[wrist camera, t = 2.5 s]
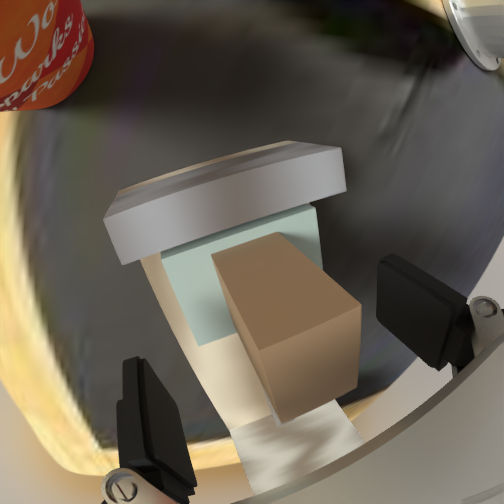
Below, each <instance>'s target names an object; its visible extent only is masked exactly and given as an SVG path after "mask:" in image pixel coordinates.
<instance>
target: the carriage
mask: <svg viewBox="0 0 504 504" xmlns="http://www.w3.org/2000/svg"><path fill="white" fill-rule="evenodd" d="M160 254H161V261H162V264H163V266H164V269H165V271H166V273H167V276H168V278H169V281H170V283H171V286H172V288H173V290H174V293H175V295H176V297H177V300H178V302H179V304H180V307H181V309H182V311H183V314H184V316H185V318H186V320H187V323H188V325H189V327H190V329H191V331H192V333H193V336H194V338H195V340H196V342H197V344H198V346H202V345H204V344H207V343H210V342H213V341H216V340H219V339H221V338H224V337H227V336H230V335H232V334H235V333H238V335H239V338H240V340H241V342H242V344H243V346H244V348H245V351H246V353H247V355H248V357H249V359H250V361H251V363H252V365H253V367H254V369H255V372H256V374H257V376H258V378H259V380H260V382H261V384H262V386H263V388H264V390H265V392H266V394H267V396H268V398H269V400H270V402H271V404H272V406H273V408H274V410H275V412H276V414H277V416H278V418H279V420H280V422H281V424H282V423H285V422H287V421H290V420H292V419H294V418H296V417H299V416H301V415H303V414H305V413H307V412H310V411H312V410H314V409H316V408H318V407H320V406H322V405H324V404H326V403H328V402H330V401H332V400H334V399H336V398H338V397H340V396H342V395H344V394H346V393H347V392H349V391H351V390H353V389H355V388H357V382H358V370H359V355H360V336H361V304H360V303H359V302H358V301H357V300H356V299H354V298H353V297H352V296H351V295H350V294H349V293H348V292H347V291H345V290H344V289H343V288H342V287H341V286H340V285H339V284H337V283H336V282H335V281H334V280H333V279H332V278H331V277H329V276H328V275H327V274H326V273H325V272H324V271H323V266H322V257H321V248H320V239H319V231H318V223H317V216H316V208H315V207H313V206H311V205H309V204H307V203H306V204H302V205H299V206H296V207H293V208H290V209H286V210H283V211H280V212H277V213H274V214H271V215H268V216H264V217H261V218H258V219H255V220H252V221H249V222H246V223H243V224H240V225H237V226H234V227H231V228H228V229H225V230H222V231H219V232H216V233H213V234H210V235H207V236H204V237H201V238H198V239H195V240H192V241H190V242H187V243H184V244H181V245H178V246H175V247H172V248H169V249H167V250H164V251H161V252H160Z"/></svg>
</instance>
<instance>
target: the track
mask: <svg viewBox="0 0 504 504" xmlns="http://www.w3.org/2000/svg"><path fill="white" fill-rule="evenodd" d="M345 191H346V182H345V174H344V166H343V158H342V151H341V148H339V147H333V146H326V145H320V144H312V143H305V142H296V141H283V142H279V143H274V144H270V145H266V146H262V147H257V148H253V149H249V150H246V151H242V152H238V153H234V154H230V155H227V156H223V157H220V158H216V159H213V160H209V161H206V162H202V163H199V164H196V165H192V166H189V167H186V168H183V169H180V170H177V171H173V172H170V173H167V174H164V175H161V176H158V177H156V178H153V179H150V180H147V181H144V182H141V183H138V184H136V185H133V186H130V187H128V188H125V189H122V190H120V191H119V192H118V194H117V195H116V197H115V199H114V200H113V202H112V204H111V206H110V207H109V209H108V211H107V213H106V214H105V216H104V218H103V220H104V223H105V225H106V228H107V231H108V233H109V235H110V238H111V240H112V243H113V245H114V248H115V250H116V252H117V255H118V257H119V259H120V261H121V264H122V265H125V264H128V263H130V262H133V261H136V260H139V259H140V261H141V263H142V265H143V268H144V270H145V272H146V275H147V277H148V279H149V282H150V284H151V286H152V288H153V290H154V293H155V295H156V297H157V299H158V301H159V303H160V306H161V308H162V310H163V312H164V314H165V316H166V318H167V320H168V322H169V324H170V326H171V328H172V330H173V332H174V334H175V336H176V338H177V340H178V342H179V344H180V346H181V348H182V350H183V352H184V354H185V355H186V357H187V359H188V361H189V363H190V365H191V367H192V368H193V370H194V372H195V374H196V376H197V377H198V379H199V381H200V383H201V384H202V386H203V388H204V390H205V391H206V393H207V395H208V396H209V398H210V400H211V401H212V403H213V405H214V406H215V408H216V410H217V411H218V413H219V415H220V416H221V418H222V419H223V421H224V423H225V424H226V426H227V427H228V429H229V431H230V434H231V436H232V439H233V442H234V445H235V447H236V450H237V453H238V455H239V458H240V461H241V463H242V466H243V468H244V471H245V473H246V476H247V478H248V481H249V483H250V486H251V488H252V491H253V493H254V495H258V494H261V493H263V492H266V491H268V490H271V489H274V488H276V487H279V486H281V485H284V484H286V483H288V482H291V481H293V480H295V479H298V478H300V477H302V476H304V475H307V474H309V473H311V472H313V471H315V470H317V469H319V468H321V467H323V466H325V465H327V464H329V463H331V462H333V461H335V460H337V459H339V458H340V457H342V456H344V455H346V454H348V453H349V452H351V451H353V450H355V449H356V448H358V447H360V446H361V445H363V444H365V443H366V442H365V441H364V440H363V438H362V437H361V435H360V434H359V433H358V431H357V430H356V429H355V427H354V426H353V424H352V423H351V422H350V420H349V419H348V417H347V416H346V415H345V413H344V412H343V410H342V409H341V407H340V406H339V405H338V403H337V402H336V400H335V399H334V400H332V401H330V402H328V403H326V404H324V405H322V406H320V407H318V408H316V409H314V410H312V411H310V412H307V413H305V414H303V415H301V416H299V417H296V418H294V419H292V420H290V421H287V422H285V423H282V424H281V422H280V420H279V418H278V416H277V414H276V412H275V410H274V408H273V406H272V404H271V402H270V400H269V398H268V396H267V394H266V392H265V390H264V388H263V386H262V384H261V382H260V380H259V378H258V376H257V374H256V372H255V369H254V367H253V365H252V363H251V361H250V359H249V357H248V355H247V353H246V351H245V348H244V346H243V344H242V342H241V340H240V338H239V335H238V333H235V334H232V335H230V336H227V337H224V338H221V339H219V340H216V341H213V342H210V343H207V344H204V345H202V346H198V344H197V342H196V340H195V338H194V336H193V333H192V331H191V329H190V327H189V325H188V323H187V320H186V318H185V316H184V314H183V311H182V309H181V307H180V304H179V302H178V300H177V297H176V295H175V293H174V290H173V288H172V286H171V283H170V281H169V278H168V276H167V273H166V271H165V269H164V266H163V264H162V261H161V254H160V252H161V251H164V250H167V249H169V248H172V247H175V246H178V245H181V244H184V243H187V242H190V241H192V240H195V239H198V238H201V237H204V236H207V235H210V234H213V233H216V232H219V231H222V230H225V229H228V228H231V227H234V226H237V225H240V224H243V223H246V222H249V221H252V220H255V219H258V218H261V217H264V216H268V215H271V214H274V213H277V212H280V211H283V210H286V209H290V208H293V207H296V206H299V205H302V204H306V203H307V204H309V202H312V201H315V200H319V199H322V198H325V197H328V196H332V195H335V194H338V193H342V192H345ZM309 205H310V204H309Z"/></svg>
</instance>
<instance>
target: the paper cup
mask: <svg viewBox="0 0 504 504" xmlns="http://www.w3.org/2000/svg"><path fill="white" fill-rule="evenodd" d="M93 56H94V40H93V36H92V32H91V29H90V26H89V23H88V21H87V18H86V15H85V13H84V10H83V7H82V4H81V2H80V0H0V112H3V111H19V110H35V109H43V108H47V107H50V106H53V105H55V104H57V103H59V102H61V101H63V100H64V99H66V98H67V97H68V96H70V95H71V94H72V93H73V92H74V91H75V90H76V89H77V88H78V87H79V86H80V84H81V83H82V82H83V80H84V79H85V77H86V75H87V73H88V72H89V69H90V67H91V64H92V61H93Z"/></svg>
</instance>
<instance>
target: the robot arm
mask: <svg viewBox="0 0 504 504" xmlns="http://www.w3.org/2000/svg"><path fill="white" fill-rule="evenodd" d="M442 1H443V5H444V8H445V11H446V13H447V16H448V19H449V21H450V23H451V25H452V28H453V30H454V32H455V34H456V36H457V38H458V40H459V41H460V43H461V45H462V46H463V48H464V50H465V51H466V53H467V54H468V55H469V57H470V58H471V59H472V60H473V62H474V63H475V64H476V65H478V66H479V67H480V68H482V69H484V70H491V71H493V70H496V69H497V68H498V67H499V65H500V63H501V59H502V58H504V0H442ZM467 299H468V298H466V297H465V296H463V295H461V294H460V293H458V292H457V291H455V290H454V289H452V288H450V287H449V286H447V285H446V284H444V283H442V282H441V281H439V280H438V279H436V278H434V277H433V276H431V275H429V274H428V273H426V272H424V271H423V270H421V269H419V268H418V267H416V266H414V265H413V264H411V263H409V262H408V261H406V260H404V259H402V258H401V257H399V256H397V255H395V254H390V255H388V256H386V257H384V258H382V259H381V260H380V263H379V264H378V277H377V307H376V317H377V319H378V321H379V322H380V323H381V324H382V325H383V326H384V327H386V328H387V329H388V330H389V331H390V332H391V333H392V334H394V335H395V336H396V337H397V338H398V339H399V340H400V341H402V342H403V343H404V344H405V345H406V346H407V347H408V348H409V349H411V350H412V351H413V352H414V353H415V354H416V355H417V356H418V357H420V358H421V359H422V360H423V361H424V362H425V363H427V365H428V366H430V367H432V368H435V369H437V370H438V371H440V370H441V369H442V368H444V367H445V366H446V365H447V363H448V362H449V363H450V364H451V365H452V374H453V379H452V380H451V381H449V383H447V384H446V385H445V386H444V387H443V388H441V389H440V390H439V391H438V392H437V393H435V394H434V395H433V396H432V397H430V398H429V399H428V400H427V401H425V402H424V403H423V404H422V405H420V406H419V407H418V408H416V409H415V410H414V411H413V412H411V413H410V414H408V415H407V416H406V417H404V418H403V419H402V420H400V421H399V422H397V423H396V424H394V425H393V426H391V427H390V428H388V429H387V430H385V431H384V432H382V433H381V434H379V435H378V436H376V437H375V438H373V439H372V440H370V441H368V442H367V443H365V444H363V445H361V446H360V447H358V448H356V449H355V450H353V451H351V452H349V453H348V454H346V455H344V456H342V457H340V458H339V459H337V460H335V461H333V462H331V463H329V464H327V465H325V466H323V467H321V468H319V469H317V470H315V471H313V472H311V473H309V474H307V475H304V476H302V477H300V478H298V479H295V480H293V481H291V482H288V483H286V484H284V485H281V486H279V487H276V488H274V489H271V490H268V491H266V492H263V493H261V494H258V495H255V496H253V497H250V498H247V499H244V500H241V501H238V502H235V503H231V504H504V309H501V308H500V306H499V304H498V303H497V302H496V301H495V300H493V299H491V298H489V297H485V296H479V297H476V298H473V299H472V300H471V301H470V304H469V305H468V304H466V302H467ZM116 409H117V436H118V452H119V464H120V468H117V469H114V470H112V471H110V472H109V473H108V474H107V475H106V476H105V478H104V479H103V482H102V485H101V492H102V495H103V498H104V499H105V500H104V501H103V502H102V503H101V504H189V499H188V496H191V495H195V491H194V488H193V487H197V481H196V477H195V474H194V471H193V467H192V463H191V460H190V456H189V452H188V448H187V444H186V440H185V436H184V432H183V428H182V424H181V419H180V415H179V410H178V407H177V405H176V403H175V401H174V400H173V398H172V397H171V396H170V394H169V393H168V391H167V390H166V389H165V387H164V386H163V384H162V383H161V381H160V380H159V378H158V377H157V375H156V374H155V372H154V371H153V369H152V368H151V366H150V365H149V363H148V362H147V360H146V359H145V358H144V359H140V357H138V356H137V357H133V358H130V359H127V360H124V361H123V399H122V400H119V401H118V402H117V406H116Z"/></svg>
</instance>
